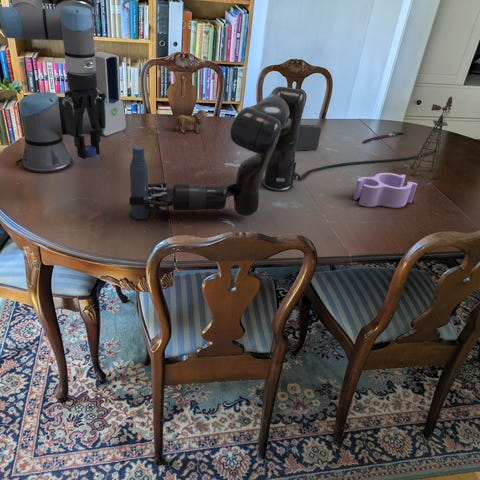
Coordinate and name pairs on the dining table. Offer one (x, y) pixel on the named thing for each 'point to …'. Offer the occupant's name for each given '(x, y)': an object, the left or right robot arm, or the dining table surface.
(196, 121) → the lion figurine
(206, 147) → the dining table surface
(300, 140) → the handheld gaming console
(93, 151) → the cap
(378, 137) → the sword
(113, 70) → the electronic device
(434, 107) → the miniature windmill
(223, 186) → the right robot arm
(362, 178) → the clip
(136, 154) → the bottle
